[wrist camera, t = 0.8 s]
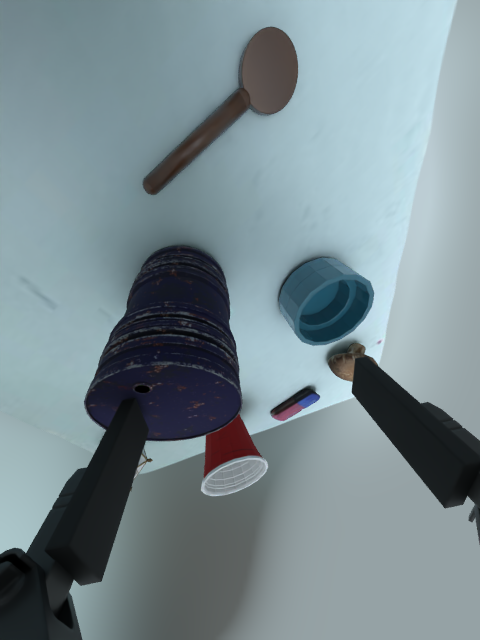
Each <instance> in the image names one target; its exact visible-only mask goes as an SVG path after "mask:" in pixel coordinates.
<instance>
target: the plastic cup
mask: <svg viewBox="0 0 480 640" xmlns="http://www.w3.org/2000/svg"><path fill="white" fill-rule="evenodd" d="M267 468H268V464H267V461H266V460H265V459H264V458H263V457H262V456H261V455H260V453H259V452H258V451H257V449H256V447H255V446H254V444H253V442H252V440H251V437H250V435H249V433H248V431H247V429H246V427H245V424H244V422H243V420H242V419H241V417H240V414H238V415H237V417H236V418H235V419H234V420H233V421H232V422H231V423H229V424H228V425H226V426H225V427H223V428H221V429H219V430H217V431H215V432H213V433H210V434H207V435H206V448H205V466H204V479H203V481H202V486H201V490H202V491H203V493H204V494H206V495H211V496H221V495H227V494H230V493H234V492H237V491H239V490H241V489H243V488H246V487H248V486H250V485H251V484H253V483H254V482H256V481H257V480H259V479H260V478H261V477H262V476H263V475H264V474H265V473H266V470H267Z"/></svg>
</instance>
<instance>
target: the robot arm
mask: <svg viewBox="0 0 480 640" xmlns="http://www.w3.org/2000/svg"><path fill="white" fill-rule="evenodd" d="M352 394H353V395H354V396H355V397H356V399H357V400H358V401H359V402H360V403H361V405H362V406H363V407H364V408H365V410H366V411H367V412H368V413H369V415H370V416H371V417H372V418H373V420H374V421H375V422H376V423H377V425H378V426H379V427H380V428H381V430H382V431H383V432H384V433H385V435H386V436H387V437H388V438H389V439H390V441H391V442H392V443H393V445H394V446H395V447H396V448H397V449H398V451H399V452H400V453H401V454H402V456H403V457H404V458H405V459H406V461H407V462H408V463H409V464H410V466H411V467H412V468H413V469H414V471H415V472H416V473H417V474H418V476H419V477H420V478H421V479H422V480H423V482H424V483H425V484H426V486H428V488H429V489H430V490H431V492H432V493H433V494H434V495H435V497H436V498H437V499H438V500H439V502H440V503H441V504H442V505H443V507H444V508H449V507H454V506H458V505H463V504H464V502H465V500H466V497H467V496H468V497H469V498H470V499H471V500H472V501H473V502H474V503H475V506H474V507H473V509H472V511H471V513H470V515H469V521H471V522H473V520H474V519H475V518H476V524H477V530H478V536H479V543H480V441H479V440H478V439H477V438H476V437H475V436H473V435H472V434H471V433H470V432H469V431H467V430H466V429H465V428H462V426H461V425H460V424H459V423H458V422H456V421H455V420H453V418H451V417H450V416H449V415H448V414H447V413H446V412H444V411H443V410H442V409H440V408H438V407H436V406H434V405H433V404H431V403H429V402H426V403H421V404H420V403H419V402H418V401H417V400H416V399H415V398H414V397H412V396H411V395H410V394H409V393H408V392H407V391H406V390H404V389H403V388H402V387H401V386H400V385H399V384H398V383H397V382H395V381H394V380H393V379H392V378H391V377H390V376H389V375H387V374H386V373H385V372H384V371H383V370H382V369H381V368H380V367H378V366H377V365H376V364H375V363H374V362H373V361H372V360H371V359H369V358H368V357H367V356H366V357H360V358H355V363H354V374H353V384H352ZM148 432H149V428H148V426H147V424H146V421H145V419H144V417H143V414H142V412H141V410H140V407H139V405H138V403H137V401H136V398H130V399H125V400H122V401H121V403H120V405H119V407H118V409H117V411H116V413H115V415H114V417H113V419H112V421H111V423H110V424H109V426H108V428H107V430H106V432H105V434H104V436H103V438H102V440H101V442H100V444H99V446H98V448H97V450H96V451H95V453H94V455H93V457H92V459H91V461H90V463H89V465H88V467H87V468H81V469H78V470H77V471H76V472H75V473H74V474H73V475H72V477H71V478H70V479H69V480H68V481H67V482H66V484H65V486H64V488H63V489H62V491H61V493H60V495H59V498H57V500H56V502H55V503H54V505H53V508H52V510H50V512H49V514H48V516H47V518H46V519H45V521H44V523H43V524H42V526H41V528H40V530H39V532H38V533H37V535H36V537H35V538H34V540H33V542H32V544H31V545H30V547H29V549H28V551H27V553H25V552H24V551H23V550H22V549H19V548H12V549H10V550H7V551H5V552H3V553H2V554H0V640H82V637H81V632H80V628H79V624H78V620H77V616H76V612H75V608H74V604H73V600H72V596H71V595H70V593H69V590H70V588H71V585H72V583H73V580H75V581H76V582H77V583H78V584H79V585H81V586H82V585H86V584H91V583H96V582H101V581H102V578H103V575H104V572H105V569H106V565H107V562H108V559H109V556H110V553H111V550H112V547H113V543H114V540H115V537H116V534H117V531H118V527H119V524H120V521H121V518H122V515H123V512H124V509H125V505H126V502H127V499H128V496H129V492H130V490H131V486H132V483H133V480H134V477H135V474H136V470H137V467H138V464H139V461H140V458H141V455H142V451H143V448H144V445H145V442H146V439H147V436H148Z"/></svg>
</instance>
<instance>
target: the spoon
mask: <svg viewBox="0 0 480 640" xmlns="http://www.w3.org/2000/svg"><path fill="white" fill-rule="evenodd" d="M297 77H298V61H297V55H296V51H295V48H294V45H293V43H292V41H291V40H290V38H289V37H288V36H287V35H286V33H284V32H283V31H282V30H280V29H278V28H275V27H267V28H264V29H262V30H260V31H258V32H257V33H256V34H255V35H254V36H253V37H252V39H251V40H250V41H249V43H248V44H247V46H246V48H245V50H244V52H243V54H242V57H241V61H240V66H239V85H240V88H239V89H237V90H236V91H235V92H234V93H233V94H232V95H231V96H230V97H229V98H228V99H227V100H226V101H225V102H224V103H223V104H222V105H221V106H219V107H218V108H217V109H216V110H215V111H214V112H213V113H212V114H211V115H210V116H209V117H208V118H207V119H206V120H205V121H204V122H203V123H202V124H201V125H200V126H199V127H198V128H196V129H195V130H194V131H193V132H192V133H191V134H190V135H189V136H188V137H187V138H186V139H185V140H184V141H183V142H182V143H181V144H180V145H179V146H178V147H177V148H176V149H175V150H174V151H172V152H171V153H170V154H169V155H168V156H167V157H166V158H165V159H164V160H163V161H162V162H161V163H160V164H159V165H158V166H157V167H156V168H155V169H154V170H153V171H152V172H151V173H149V174H148V175H147V176H146V177H145V178H144V180H143V188H144V190H145V191H146V192H147V193H148V194H150V195H156V194H157V193H159V192H160V191H161V190H162V189H163V188H164V187H165V186H166V185H167V184H168V183H169V182H171V181H172V180H173V179H174V178H175V177H176V176H177V175H178V174H179V173H180V172H181V171H182V170H183V169H185V168H186V167H187V166H188V165H189V164H190V163H191V162H192V161H193V160H194V159H195V158H196V157H198V156H199V155H200V154H201V153H202V152H203V151H204V150H205V149H206V148H207V147H208V146H209V145H211V144H212V143H213V142H214V141H215V140H216V139H217V138H218V137H219V136H220V135H221V134H222V133H223V132H225V131H226V130H227V129H228V128H229V127H230V126H231V125H232V124H233V123H234V122H235V121H236V120H238V119H239V118H240V117H241V116H242V115H243V114H244V113H245V112H246V111H247V110H248V109H249V108H250V109H251V110H252V111H254V112H255V113H257V114H259V115H271V114H274V113H276V112H278V111H280V110H281V109H283V108H284V107H285V106H286V105H287V103H288V102H289V100H290V99H291V97H292V95H293V93H294V90H295V87H296V83H297Z"/></svg>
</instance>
